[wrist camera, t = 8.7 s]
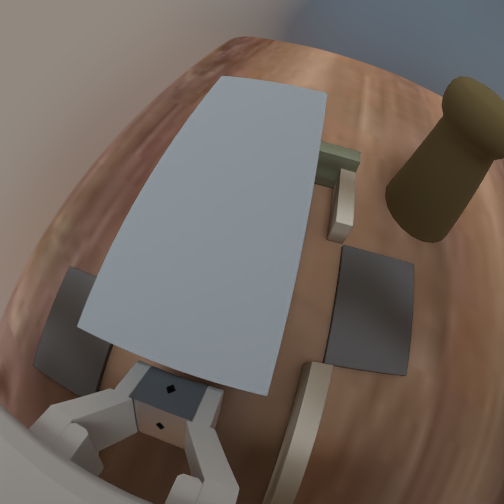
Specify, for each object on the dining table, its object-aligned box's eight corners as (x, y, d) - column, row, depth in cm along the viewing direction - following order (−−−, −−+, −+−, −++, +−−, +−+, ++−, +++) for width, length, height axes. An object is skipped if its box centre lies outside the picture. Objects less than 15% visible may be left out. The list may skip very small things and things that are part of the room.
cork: (443, 190, 19) (507, 93, 9) (453, 251, 16) (547, 152, 7) (383, 168, 20) (436, 50, 10) (386, 229, 17) (472, 96, 7)
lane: (325, 584, 6) (337, 607, 3) (17, 477, 8) (-10, 481, 5) (408, 200, 18) (425, 175, 16) (145, 143, 20) (136, 114, 18)
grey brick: (254, 389, 13) (267, 396, 5) (160, 360, 13) (76, 326, 6) (301, 197, 18) (327, 93, 11) (227, 181, 18) (221, 75, 11)
